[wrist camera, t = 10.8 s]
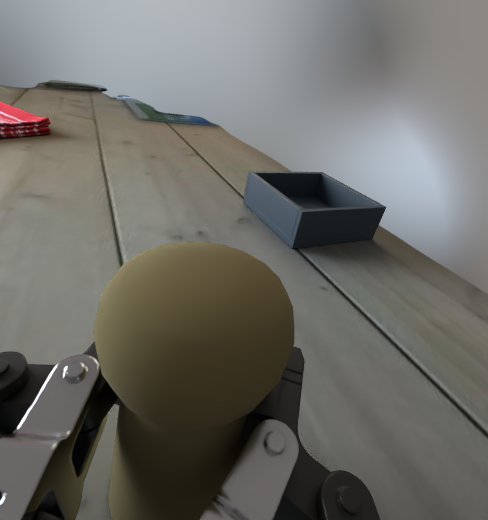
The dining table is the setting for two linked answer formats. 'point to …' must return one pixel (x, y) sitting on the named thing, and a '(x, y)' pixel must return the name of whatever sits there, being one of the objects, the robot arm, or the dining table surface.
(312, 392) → the dining table surface
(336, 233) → the square tray
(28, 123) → the dish towel
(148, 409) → the cork
